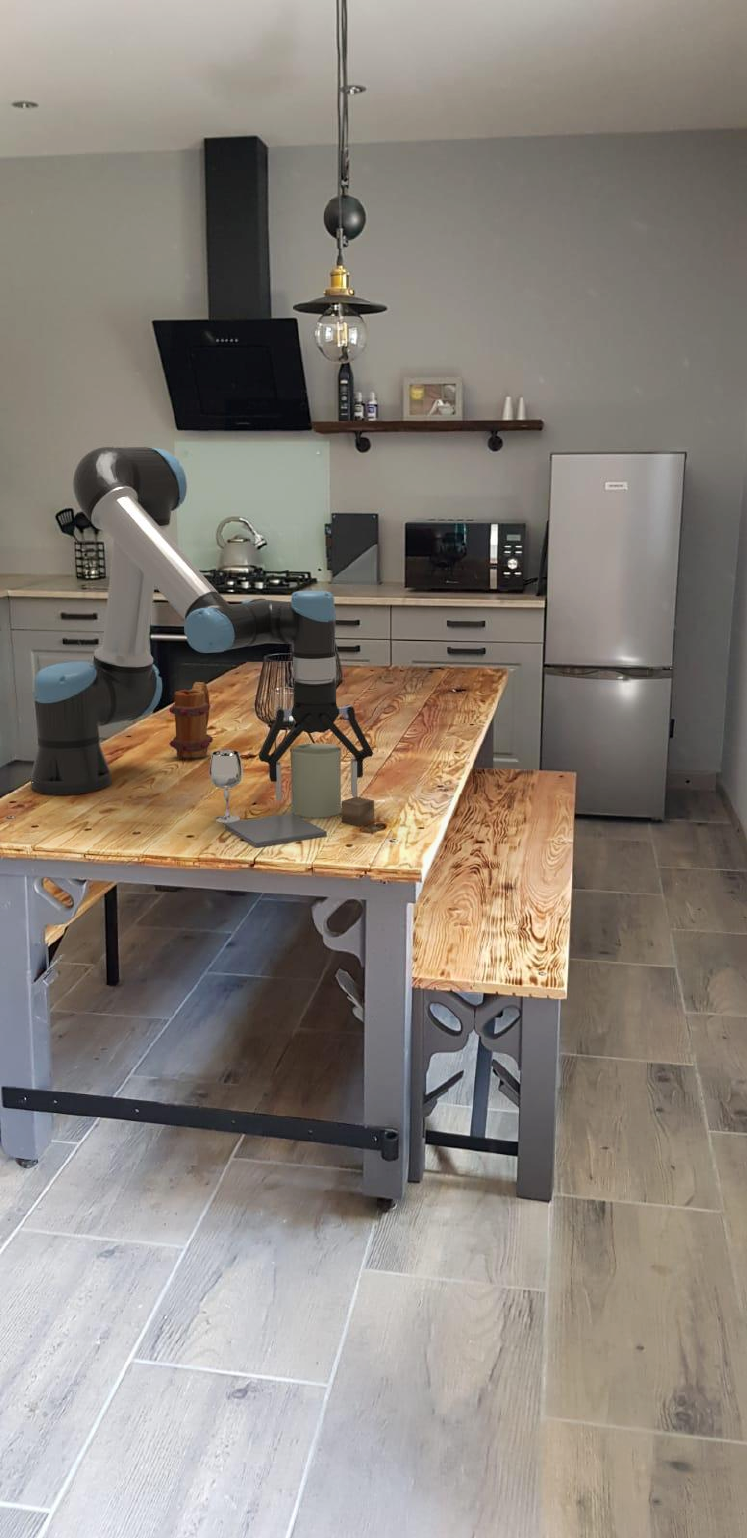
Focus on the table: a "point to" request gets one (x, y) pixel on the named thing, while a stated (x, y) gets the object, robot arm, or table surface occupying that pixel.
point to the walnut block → (358, 811)
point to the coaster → (275, 830)
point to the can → (316, 780)
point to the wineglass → (226, 777)
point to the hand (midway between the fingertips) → (316, 797)
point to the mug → (191, 722)
